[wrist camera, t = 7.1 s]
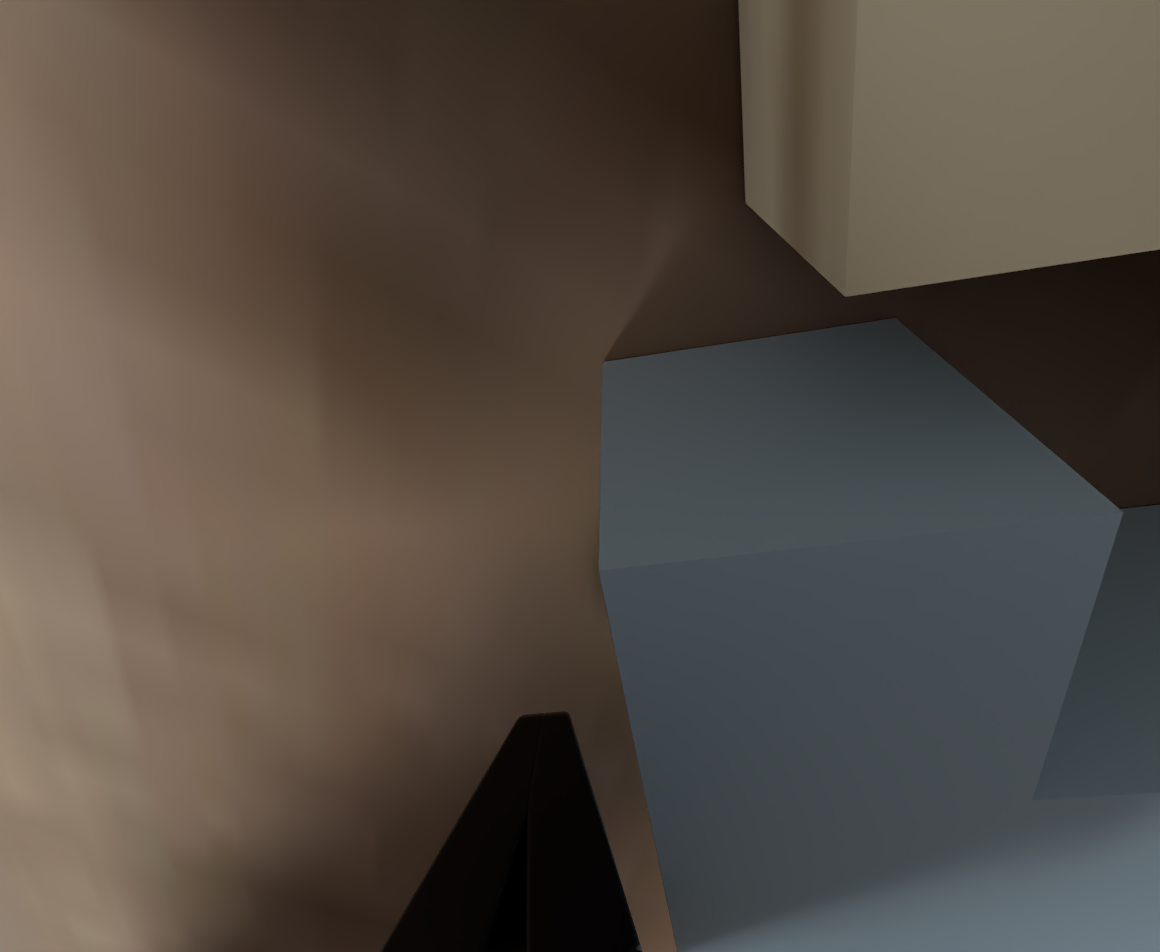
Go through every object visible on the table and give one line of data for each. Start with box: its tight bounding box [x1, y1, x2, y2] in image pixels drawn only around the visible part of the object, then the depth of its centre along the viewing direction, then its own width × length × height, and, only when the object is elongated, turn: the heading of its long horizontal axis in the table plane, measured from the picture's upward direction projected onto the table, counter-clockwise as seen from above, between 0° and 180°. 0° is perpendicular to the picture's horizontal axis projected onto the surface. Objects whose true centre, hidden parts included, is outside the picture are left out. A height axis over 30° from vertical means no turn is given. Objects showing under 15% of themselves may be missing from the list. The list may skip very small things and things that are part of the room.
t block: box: [599, 318, 1160, 952], centre depth 8 cm, size 10×10×4 cm
